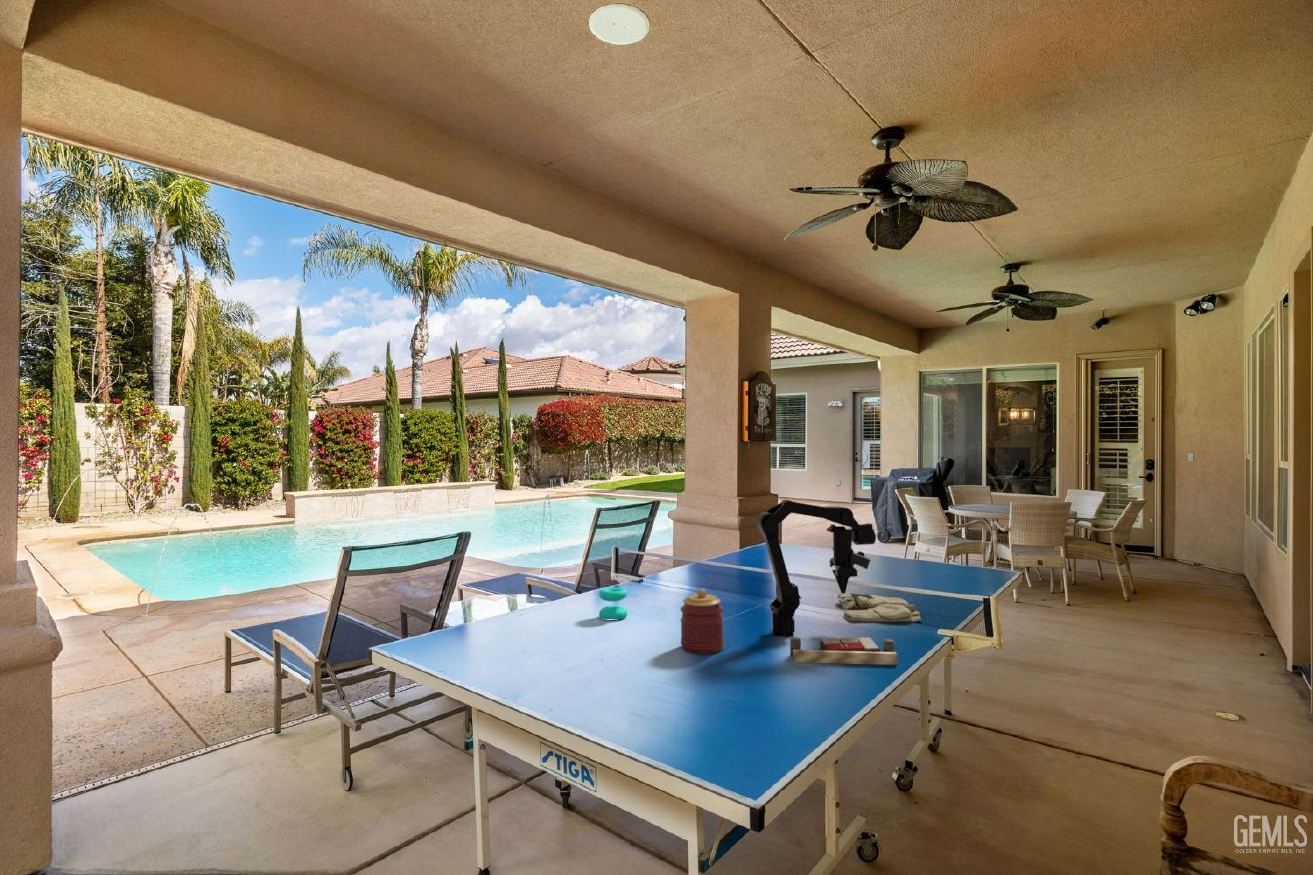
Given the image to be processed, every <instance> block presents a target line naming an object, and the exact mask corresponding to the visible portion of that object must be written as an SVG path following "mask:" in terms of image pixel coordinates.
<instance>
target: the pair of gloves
mask: <svg viewBox="0 0 1313 875" xmlns="http://www.w3.org/2000/svg"><path fill="white" fill-rule="evenodd" d="M837 598H838V602H839V603H840V604H841V607H842V609H843V610H845V611H844V612H843V616H844V618H845V619H847V621H850V622H858V623H859V622H862V623H865V622H867V623H869V622H874V623H879V622H881V623H883V622H885V623H896V622H899V623H901V622H903V623H905V622H906V623H909V622H912V623H916V622H921V621H922V618H921V616H920V615H921V614H920V612H919V610H916V606H915V605H914V604H913V603H912V604H909V603H908V602H907V600H905V599H904V598H900V597H890V596H889V597H888V596H883V595H876V594H875V595H874V594H862V593H860V594H859V593H849V594H847V593H845V594H842V593H841V592H837ZM855 607H856V608H855ZM852 608H855V609H854V610H853V609H852ZM861 608H865V609H861ZM869 608H872V609H869ZM849 609H852V610H849ZM860 609H861V610H860Z"/></svg>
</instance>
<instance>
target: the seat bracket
mask: <svg viewBox="0 0 1313 875" xmlns="http://www.w3.org/2000/svg"><path fill="white" fill-rule="evenodd" d="M789 640H790V641H789V644H790V645H789V651H790V652H789V653H790V654H789V655H790V657H791V658H792V660H793V663H811V664H813V663H815V664H817V663H818V664H821V663H822V664H849V665H850V664H851V665H853V664H854V665H855V664H857V665H859V664H860V665H891V666H894V665H895V666H898V653H897V652H896V650H895V648H896V646H895V640H894V639H891V638H889V639H888V638H887V639H886V638H884V639H883V640H882V648H883V649H882V651H881V652H870V651H829V650H821V649H818V650H817V649H802V645H801V644H802V642H801V641H802V638H800V637H798V636H790V638H789Z"/></svg>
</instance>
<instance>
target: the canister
mask: <svg viewBox="0 0 1313 875" xmlns="http://www.w3.org/2000/svg"><path fill="white" fill-rule="evenodd" d="M682 601H683V603H684V604H683V605H682V606H681V607H680V609H679V610H680V611H681V612H682V614H681V615H682V616H681V618H680V626H681V628H680V629H681V632H680V633H681V635H680V636H681V637H680V644H681V649H682V650H683V651H685V652H687V653H691V654H697V655H698V654H699V655H709V654H710V655H712V654H715V653H716V654H717V653H718V652H721V651H722V650H723V649H724V645H725V639H724V621H725V620H724V617H723V611H724V610H725V609H724V607H723V606H721V601H722V600H721V599H719V598H717V596H715V595H714V594H710V593H709V594H708V593H707V592H706V590H705V589H704V588H700V589H698V591H697V593H695V594H690V595H688V596H687V597H686V598H684V599H682Z"/></svg>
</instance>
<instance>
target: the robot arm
mask: <svg viewBox="0 0 1313 875" xmlns="http://www.w3.org/2000/svg"><path fill="white" fill-rule="evenodd" d="M790 514H797V515H802V516H809V517H815V518H820V519H824V520H827V521H830V522H832V523H833V524H832V523H831V524H830V525H829V527H828V528H826V531H827V532H829V533H832V534H833V535H832V536H833V537H832V538H833V539H832V541H833V542H832V544H833V547H832V551H833V557H831V558H830V559H829V560H828V561H829V567H830V568H833V567H834V569H832V570H831V571H832V574H833V576H834V578H835V580H836V583H837V585H838V587H839V588H838V589H839V590H840V593H842V594H846V591H847V588H848V583H849V579H850V578H852V577H854V578H855V577H857V578H858V570H857V568H855V565H856V566H858V567H862V568H863V569H865V570H867V569H868V568H869V566H870V564H871V563H870V562H871V559H870V558H869V557H867V556H865V553H864V552H863V551H857V552H854V551H855V550H853V548H852V544H853V543H854V544H855V546H856V545H857V546H861V545H862V546H864V545H865V546H868V545H874V544H875V543H876V540H877V535H876V532H875V529H874V526H873V523H868V522H867V523H862V524H861V523H859V522H858V521H857V520H856V519H855V517H854V513H853V511H852V509H850V508H848V507H844V506H841V505H840V506H839V505H834V506H833V505H828V506H827V505H826V506H820V505H815V504H809V503H804V502H803V503H802V502H797V501H792V500H790V499H783V500H782V501H780V502H779V503H778V504H776V505H774V506H772V507H771V508H769V509H768V510H766V511H762V512H759V513H758V514H757V515H756V517H755V521H754V522H755V524H756V528H758V531H759V534H760V535H761V537H762V539H763V540H764V542H765V545H766V549H767V553H768V556H769V560H770V564H771V567H772V571H773V575H774V578H775V582H776V583H775V596H776V597H775V599H774V600H773V601H772V602H771V603H770V605H769V607H770V610H771V612H772V613H771V622H772V623H771V626H772V628H771V634H772V636H779V637H780V636H781V637H784V636H785V637H786V636H789V637H795V636H794V633H795V629H796V628H795V618H794V616H795V612H796V610H797V609H799V606H800V604H801V600H802V597H801V596H800V592H799V587H798V585H796V584H795V583H793V582H791V581H790V577H789V573H788V570H787V566H786V562H785V559H784V555H783V551H782V548H781V544H780V540H779V536H780V525H779V524H780V523H782V522H783V521H784V520H785V519H786V518H787V517H788V516H789V515H790ZM834 523H835V524H838V525H841V526H836V525H835V524H834ZM846 527H847V528H846ZM852 542H853V543H852Z"/></svg>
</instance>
